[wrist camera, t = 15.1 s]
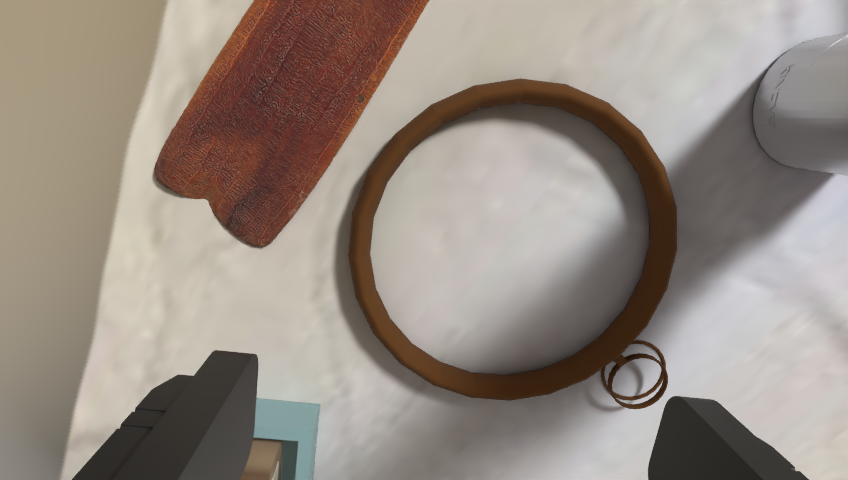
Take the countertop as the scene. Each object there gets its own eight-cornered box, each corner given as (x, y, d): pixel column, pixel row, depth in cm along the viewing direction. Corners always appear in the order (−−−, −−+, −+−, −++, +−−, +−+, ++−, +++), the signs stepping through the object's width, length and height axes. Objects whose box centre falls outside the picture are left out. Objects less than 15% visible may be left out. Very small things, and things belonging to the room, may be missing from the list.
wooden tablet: (270, 252, 38) (264, 259, 37) (150, 176, 36) (139, 179, 35) (483, -60, 34) (487, -68, 32) (358, -166, 32) (356, -181, 30)
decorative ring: (556, 503, 41) (274, 262, 35) (546, 477, 44) (283, 251, 38) (795, 300, 38) (528, -7, 32) (768, 287, 41) (517, 3, 34)
